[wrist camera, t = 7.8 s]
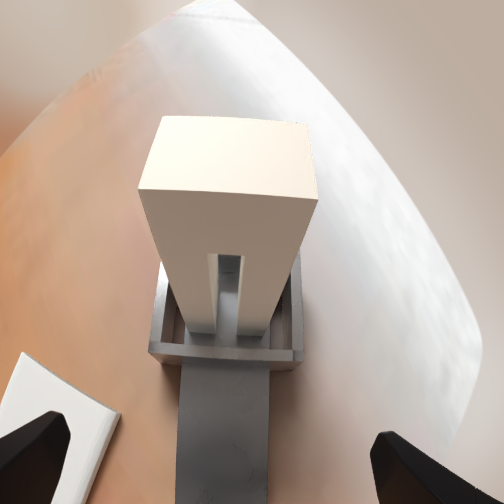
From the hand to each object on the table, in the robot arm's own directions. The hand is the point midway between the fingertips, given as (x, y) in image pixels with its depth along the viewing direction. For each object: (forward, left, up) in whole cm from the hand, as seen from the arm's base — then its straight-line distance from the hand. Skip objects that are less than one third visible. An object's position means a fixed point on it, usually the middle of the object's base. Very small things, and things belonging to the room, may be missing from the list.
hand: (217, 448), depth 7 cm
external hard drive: (0, +13, -11) cm, 17 cm away
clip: (+7, -2, -9) cm, 12 cm away
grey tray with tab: (+3, -1, -11) cm, 11 cm away
